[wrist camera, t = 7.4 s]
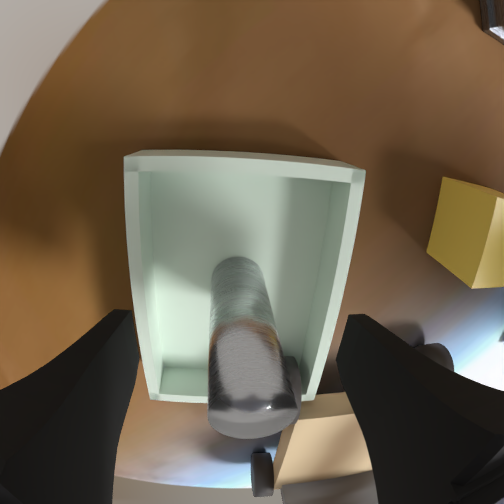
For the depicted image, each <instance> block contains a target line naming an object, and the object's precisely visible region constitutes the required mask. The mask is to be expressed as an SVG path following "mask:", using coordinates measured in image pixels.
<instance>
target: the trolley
mask: <svg viewBox="0 0 504 504" xmlns="http://www.w3.org/2000/svg"><path fill="white" fill-rule="evenodd" d="M414 349H416V350H417V351H419V352H420V353H422V354H424V355H425V356H427V357H428V358H430V359H432V360H433V361H435V362H437V363H438V364H440V365H442V366H444V367H445V368H447V369H449V370H451V371H453V372H454V365H453V360H452V357H451V355H450V353H449V351H448V350H447V348H446V347H445V346H443V345H442V344H439V343H433V344H426V345H419V346H417V347H415V348H414ZM284 358H285V361H286V365H287V369H288V373H289V377H290V381H291V385H292V389H293V393H294V397H295V401H296V404H297V415H296V417H295V419H294V420H293V422H292V423H291V424H290V425H289V426H288V427H286V428H285V429H283V430H282V433H281V437H280V440H279V444H278V448H277V451H276V455H275V458H274V462H272V457H271V454H270V453H252V456H251V482H252V490H253V495H254V497H264V496H272V495H273V491H274V490H275V489H281V495H282V501H283V504H378V498H377V491H376V485H375V480H374V475H373V470H372V466H371V461H370V457H369V453H368V450H367V446H366V442H365V439H364V436H363V433H362V431H361V428H360V426H359V423H358V421H357V419H356V416H355V414H354V411H353V409H352V407H351V404H350V402H349V399H348V397H347V395H346V392H341V393H331V394H320V395H315V398H314V400H311V401H301V399H302V389H301V377H300V371H299V367H298V363H297V361H296V359H295V358H294V357H293V356H284Z"/></svg>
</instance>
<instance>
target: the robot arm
mask: <svg viewBox="0 0 504 504" xmlns="http://www.w3.org/2000/svg"><path fill="white" fill-rule="evenodd" d="M336 362H337V366H338V370H339V374H340V378H341V382H342V385H343V387H344V390H345V392H346V395H347V397H348V399H349V402H350V404H351V407H352V409H353V411H354V414H355V416H356V419H357V421H358V423H359V426H360V428H361V431H362V433H363V436H364V439H365V442H366V446H367V450H368V453H369V457H370V461H371V466H372V470H373V475H374V480H375V485H376V491H377V498H378V504H504V391H501V390H498V389H494V388H491V387H488V386H485V385H483V384H480V383H478V382H475V381H473V380H470V379H468V378H466V377H463V376H461V375H459V374H457V373H455V372H453V371H451V370H449V369H447V368H445V367H444V366H442V365H440V364H438V363H437V362H435V361H433V360H432V359H430V358H428V357H427V356H425V355H424V354H422V353H420V352H419V351H417V350H416V349H414V348H413V347H412V346H410V345H409V344H407V343H406V342H404V341H403V340H402V339H400V338H399V337H397V336H396V335H395V334H393V333H392V332H390V331H389V330H388V329H386V328H385V327H383V326H382V325H381V324H379V323H378V322H376V321H375V320H373V319H372V318H370V317H369V316H367V315H365V314H351V315H348V319H347V323H346V326H345V330H344V334H343V337H342V340H341V344H340V347H339V351H338V354H337V357H336ZM138 363H139V353H138V347H137V342H136V336H135V330H134V323H133V317H132V311H131V310H118V309H114V310H113V311H112V312H110V313H109V314H108V315H107V316H105V317H104V318H103V319H102V320H101V321H100V322H98V323H97V324H96V325H95V326H94V327H93V328H92V329H90V330H89V331H88V332H87V333H86V334H84V335H83V336H82V337H81V338H80V339H79V340H77V341H76V342H75V343H74V344H72V345H71V346H70V347H68V348H67V349H66V350H65V351H63V352H62V353H61V354H59V355H58V356H57V357H56V358H54V359H53V360H51V361H50V362H49V363H47V364H46V365H44V366H43V367H41V368H39V369H38V370H36V371H35V372H33V373H31V374H30V375H28V376H26V377H25V378H23V379H21V380H19V381H17V382H15V383H13V384H11V385H9V386H7V387H5V388H3V389H1V390H0V504H112V493H113V481H114V470H115V462H116V454H117V447H118V442H119V437H120V433H121V430H122V426H123V423H124V419H125V416H126V412H127V409H128V406H129V402H130V399H131V396H132V392H133V389H134V385H135V381H136V375H137V370H138Z"/></svg>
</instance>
